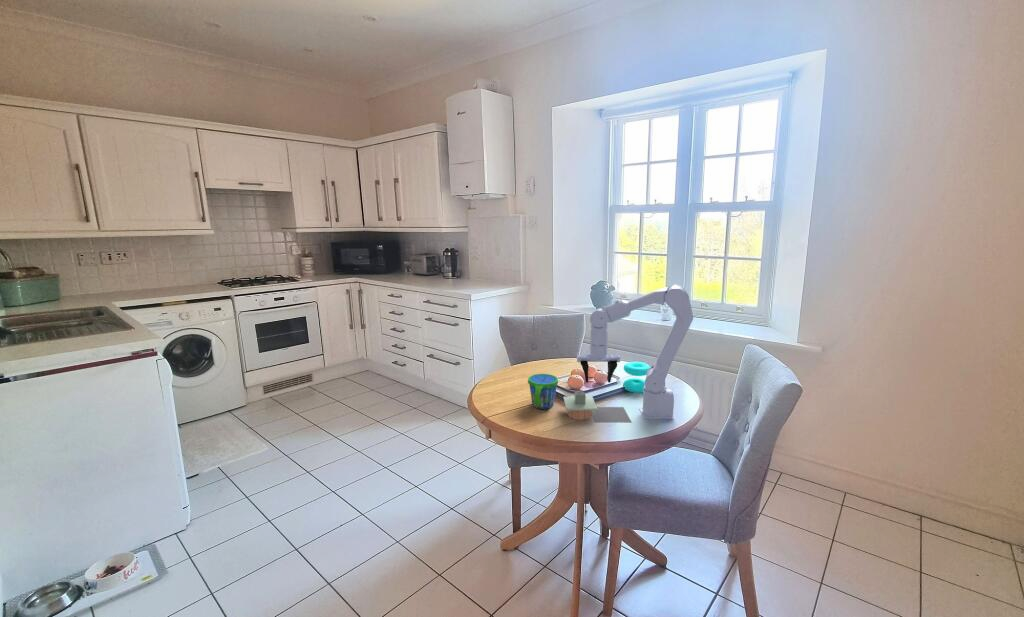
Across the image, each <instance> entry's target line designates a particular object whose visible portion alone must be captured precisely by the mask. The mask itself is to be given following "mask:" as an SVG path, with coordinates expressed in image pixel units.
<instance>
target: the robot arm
mask: <svg viewBox="0 0 1024 617" xmlns="http://www.w3.org/2000/svg"><path fill="white" fill-rule="evenodd" d="M665 303H666V305H667V306H668V307H669V308H670V309H671V310H672V311H673V313H674V315H675V320H674V321H673V324H672V326H671V328H670V331H669V333H668V335H667V337H666V339H665V341H664V343H663V345H662V347H661V350H660V351H659V354H658V356H657V357H656V359H655V361H654V363H653V365H652V366H650V368H649V369H648V370H647V373H646V375H645V379H644V380H645V386H644V392H643V395H642V407H639V408H638V410H639V411H640V413H641V415H642V416H643V418H644V419H655V420H656V419H659V420H660V419H662V420H663V419H666V420H667V419H668V420H669V419H671V420H673V419H674V406H675V398H674V396H675V395H674V392H673V390H672V389H671V388H667V387H666V379H667V376H668V374H669V370H670V368H671V366H672V364H673V361H674V359H675V357H676V356H677V353H678V351H679V349H680V347H681V344H682V343H683V342H684V339H685V337H686V335H687V333H688V330H689V329H690V326H691V325H692V323H693V320H694V314H693V310H692V305H691V300H690V296H689V294H688V292H687V290H686V289H685V287H683V286H682V285H680V284H672V285H670V286H669V287H667V286H665V287H662V288H658V289H656V290H652V291H650V292H647V293H646V294H644V295H641V296H639V297H637V298H634V299H632V300H628V301H626V300H624V299H621V300H620V299H616V300H615V301H614V302H613V303H611V304H609V305H606V306H605V305H602V306H601V308H596V309H595V310H593V312H592V313H591V314H590V317H589V322H590V324H591V326H590V327H591V328H590V341H589V342H590V344H589V346H590V347H589V349H590V350H589V352H590V353H589V354H582V355H581V354H579V355H576V362H577V363H580V365H581V368H582V371H583V375H584V379H585V383H586V384H587V383H588V384H589V368H590V367H589V363H588V362H590V363H592V362H593V363H597V362H599V363H601V362H604V363H606V362H607V378H606V379H607V380H606V381H607V382H608V383H611V381H612V377H613V374H614V372H615V371H616V369H617V367H618V363H621V356H620V355H617V354H616V355H615V354H614V355H613V354H608V340H609V339H608V336H609V334H608V333H609V332H608V323H614V322H616V321H620V320H621V319H625V318H627V317H629V316H630V315H631V313H632V311H635V310H638V309H641V308H645V307H647V306H650V305H653V304H658V305H661V306H664V305H665Z"/></svg>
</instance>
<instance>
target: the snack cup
mask: <svg viewBox="0 0 1024 617" xmlns="http://www.w3.org/2000/svg"><path fill="white" fill-rule="evenodd" d="M527 383H528V385H529V391H530V392H529V393H530V397H531V398H530V399H531V403H532V406H533V407H534V408H536V409H539V410H548V409H551V408H552V407H553V406H554V404H555V398H556V392H557V386H558V383H559V378H558V377H557V376H555V375H554V374H549V373H537V374H532V375H530V376H529V377H528V379H527Z"/></svg>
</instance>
